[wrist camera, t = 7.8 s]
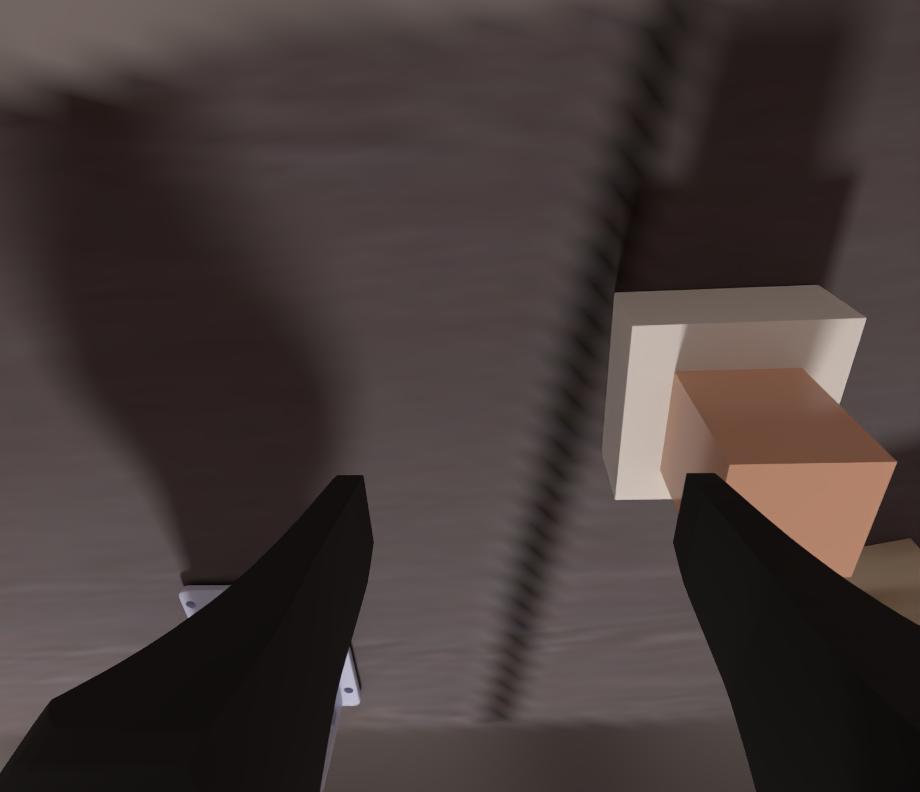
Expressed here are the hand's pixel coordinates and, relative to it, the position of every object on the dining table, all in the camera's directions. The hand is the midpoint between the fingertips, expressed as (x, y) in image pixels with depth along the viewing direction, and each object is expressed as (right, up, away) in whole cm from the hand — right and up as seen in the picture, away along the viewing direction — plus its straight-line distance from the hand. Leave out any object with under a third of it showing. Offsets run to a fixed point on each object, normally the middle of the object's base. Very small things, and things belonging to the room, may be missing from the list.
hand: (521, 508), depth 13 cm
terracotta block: (+8, +2, +7) cm, 10 cm away
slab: (+8, +3, +9) cm, 12 cm away
